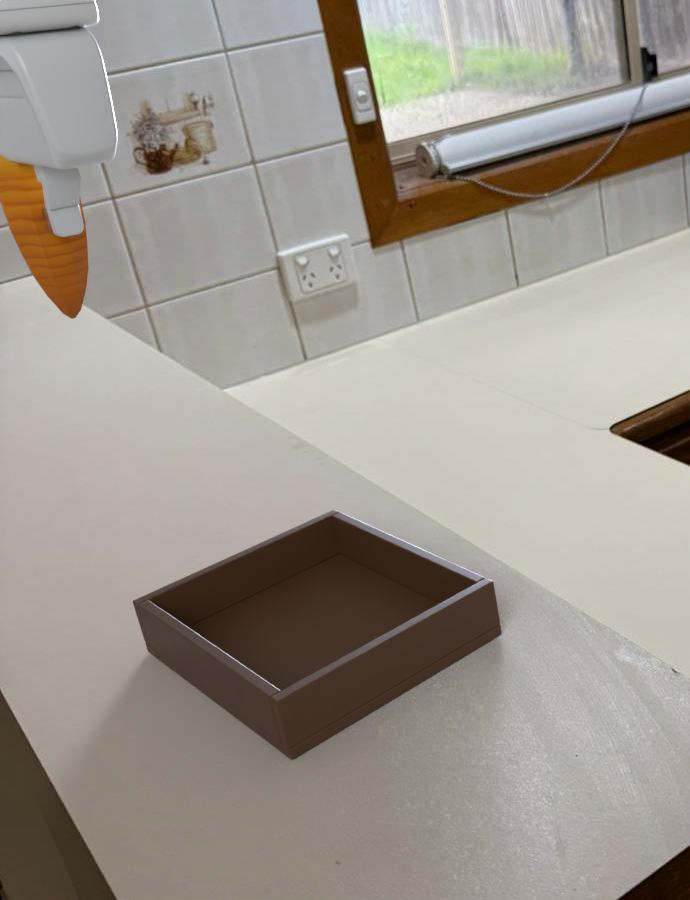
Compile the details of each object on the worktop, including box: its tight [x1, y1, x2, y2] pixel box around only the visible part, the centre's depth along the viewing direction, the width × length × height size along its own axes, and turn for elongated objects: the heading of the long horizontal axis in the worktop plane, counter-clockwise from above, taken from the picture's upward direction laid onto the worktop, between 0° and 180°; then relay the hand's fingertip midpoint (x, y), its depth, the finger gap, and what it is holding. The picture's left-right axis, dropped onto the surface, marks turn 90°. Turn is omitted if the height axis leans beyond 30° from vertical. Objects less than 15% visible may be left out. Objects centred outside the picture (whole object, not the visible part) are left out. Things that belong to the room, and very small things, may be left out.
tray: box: [132, 509, 502, 760], centre depth 58 cm, size 14×12×3 cm
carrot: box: [0, 155, 89, 319], centre depth 73 cm, size 5×5×15 cm
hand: (48, 230), depth 74 cm, fingers closed on carrot, 5 cm apart
